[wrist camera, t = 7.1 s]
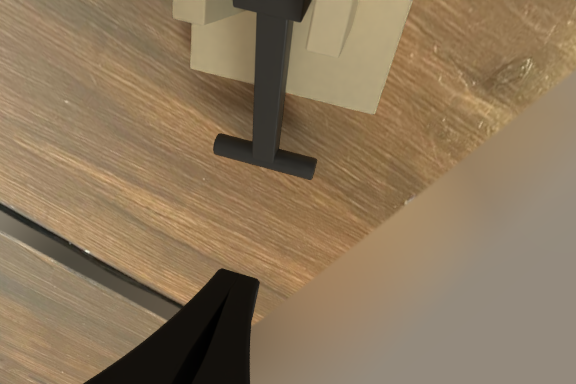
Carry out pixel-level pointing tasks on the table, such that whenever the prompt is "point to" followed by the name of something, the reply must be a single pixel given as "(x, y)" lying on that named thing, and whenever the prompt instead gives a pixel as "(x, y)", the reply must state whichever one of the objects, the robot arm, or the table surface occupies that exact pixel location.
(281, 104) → the lever
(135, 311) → the table surface
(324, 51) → the bracket
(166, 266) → the table surface
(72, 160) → the table surface
